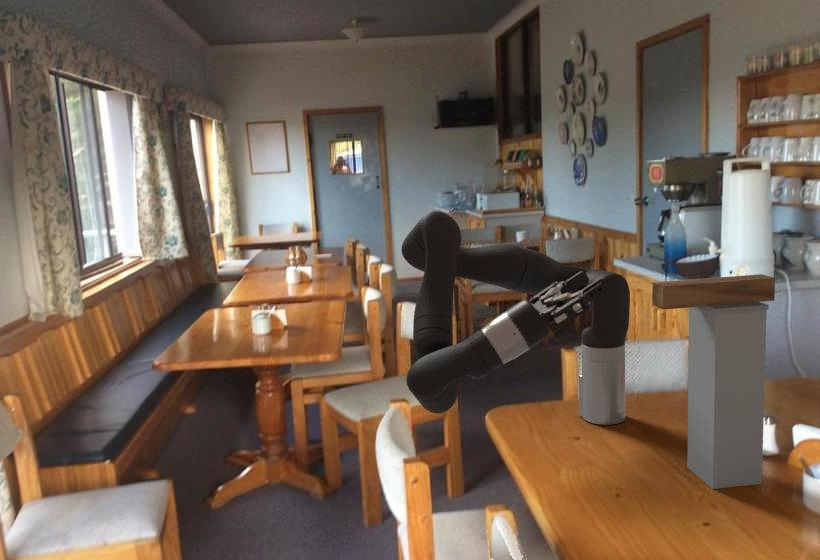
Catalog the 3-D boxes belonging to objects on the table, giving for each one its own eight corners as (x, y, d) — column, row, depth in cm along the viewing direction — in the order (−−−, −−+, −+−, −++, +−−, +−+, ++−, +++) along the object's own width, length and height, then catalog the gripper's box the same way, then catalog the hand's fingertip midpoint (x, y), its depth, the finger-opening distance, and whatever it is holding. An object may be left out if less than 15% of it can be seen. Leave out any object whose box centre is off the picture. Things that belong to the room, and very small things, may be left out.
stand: (685, 467, 133) (687, 298, 128) (733, 462, 134) (737, 294, 129) (712, 489, 124) (715, 309, 119) (763, 484, 125) (768, 304, 120)
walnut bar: (652, 305, 125) (652, 282, 124) (760, 296, 127) (761, 274, 126) (662, 309, 121) (663, 286, 120) (774, 300, 123) (775, 277, 122)
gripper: (513, 322, 113) (600, 266, 113) (493, 305, 127) (570, 255, 127) (537, 361, 114) (622, 305, 114) (515, 340, 128) (590, 290, 128)
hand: (595, 279), depth 121 cm, fingers open, 8 cm apart
